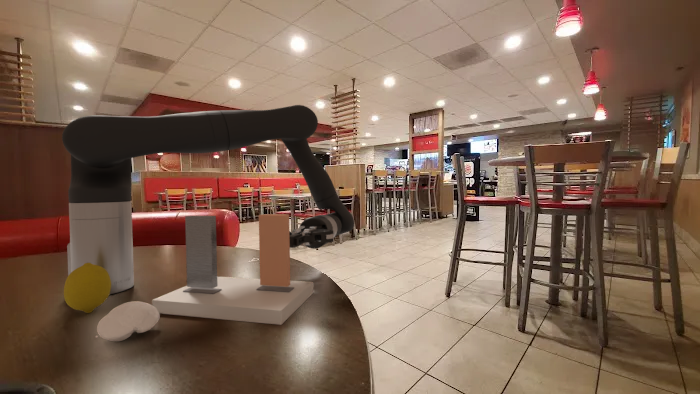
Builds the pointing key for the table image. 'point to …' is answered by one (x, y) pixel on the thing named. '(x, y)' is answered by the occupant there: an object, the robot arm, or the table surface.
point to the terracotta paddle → (274, 249)
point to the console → (237, 300)
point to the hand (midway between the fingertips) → (290, 242)
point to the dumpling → (127, 320)
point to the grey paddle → (201, 251)
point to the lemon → (87, 287)
